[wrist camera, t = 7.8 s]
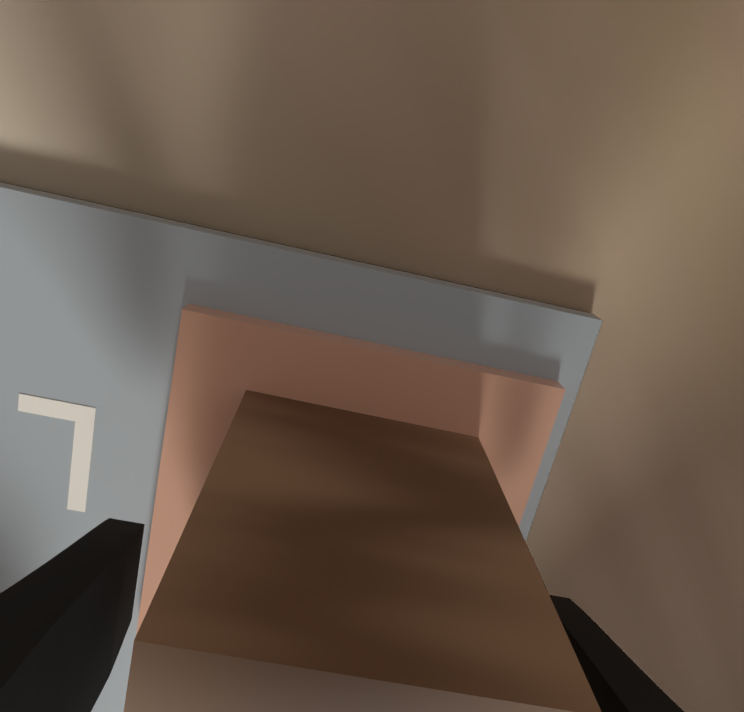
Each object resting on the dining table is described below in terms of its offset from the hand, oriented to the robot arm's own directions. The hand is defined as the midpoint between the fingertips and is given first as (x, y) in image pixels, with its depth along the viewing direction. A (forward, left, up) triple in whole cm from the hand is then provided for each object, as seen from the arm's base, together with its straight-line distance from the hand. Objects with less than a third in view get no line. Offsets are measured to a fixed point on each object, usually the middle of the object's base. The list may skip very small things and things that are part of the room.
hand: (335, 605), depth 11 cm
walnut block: (0, 0, -3) cm, 3 cm away
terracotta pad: (0, 0, -3) cm, 3 cm away
